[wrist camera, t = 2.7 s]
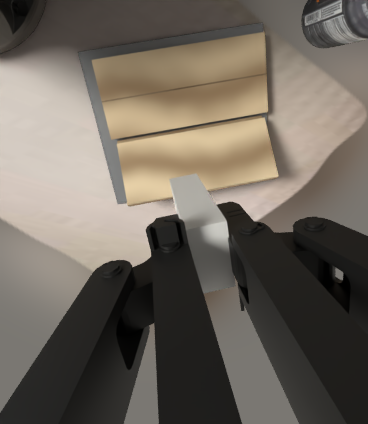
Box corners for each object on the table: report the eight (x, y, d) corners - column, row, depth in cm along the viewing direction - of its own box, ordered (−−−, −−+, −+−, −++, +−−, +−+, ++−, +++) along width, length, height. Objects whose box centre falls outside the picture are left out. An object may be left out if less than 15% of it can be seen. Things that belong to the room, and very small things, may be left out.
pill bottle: (345, -27, 31) (444, -83, 21) (357, 33, 34) (452, 9, 23) (292, 2, 32) (365, -39, 21) (308, 58, 34) (380, 46, 24)
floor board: (93, 60, 31) (91, 59, 30) (260, 33, 32) (264, 31, 31) (112, 138, 34) (111, 139, 33) (264, 111, 35) (268, 112, 34)
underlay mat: (78, 52, 31) (77, 52, 31) (261, 23, 32) (262, 22, 32) (118, 203, 38) (117, 204, 38) (268, 174, 39) (269, 175, 39)
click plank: (117, 142, 35) (115, 138, 33) (260, 116, 35) (263, 112, 34) (129, 206, 34) (127, 205, 33) (275, 178, 35) (278, 176, 34)
